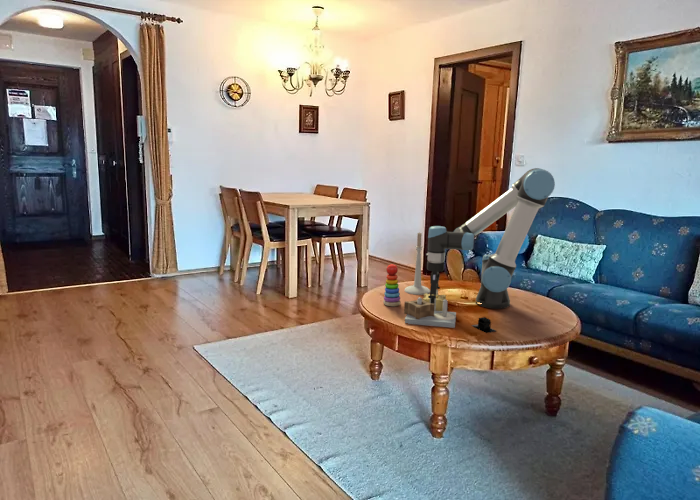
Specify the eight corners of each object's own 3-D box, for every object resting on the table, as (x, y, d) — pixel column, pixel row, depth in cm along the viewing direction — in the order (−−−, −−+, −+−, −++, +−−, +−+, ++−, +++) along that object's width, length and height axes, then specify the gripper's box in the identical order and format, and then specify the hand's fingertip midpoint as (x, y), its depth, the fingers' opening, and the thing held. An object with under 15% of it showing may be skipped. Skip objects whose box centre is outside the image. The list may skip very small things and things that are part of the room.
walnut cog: (420, 309, 216) (421, 298, 215) (435, 315, 208) (436, 304, 207) (402, 313, 211) (402, 301, 210) (417, 319, 203) (417, 308, 202)
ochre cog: (445, 305, 228) (446, 294, 227) (444, 312, 219) (444, 301, 218) (423, 303, 231) (424, 293, 230) (421, 310, 221) (422, 299, 220)
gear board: (455, 316, 213) (457, 295, 211) (454, 327, 200) (455, 305, 198) (408, 312, 217) (409, 291, 216) (404, 323, 204) (405, 301, 202)
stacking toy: (400, 302, 233) (401, 262, 229) (400, 307, 225) (401, 266, 221) (383, 301, 233) (384, 262, 230) (383, 306, 226) (383, 266, 222)
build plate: (467, 325, 204) (467, 315, 203) (481, 323, 207) (482, 313, 206) (487, 336, 193) (488, 325, 192) (502, 333, 196) (502, 322, 195)
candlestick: (410, 286, 259) (412, 229, 253) (433, 290, 253) (436, 231, 247) (400, 292, 249) (402, 232, 243) (424, 296, 242) (427, 235, 236)
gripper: (429, 255, 233) (427, 298, 237) (424, 267, 209) (422, 315, 214) (445, 256, 232) (443, 300, 236) (442, 268, 208) (440, 316, 212)
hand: (433, 307), depth 225 cm, fingers open, 13 cm apart
